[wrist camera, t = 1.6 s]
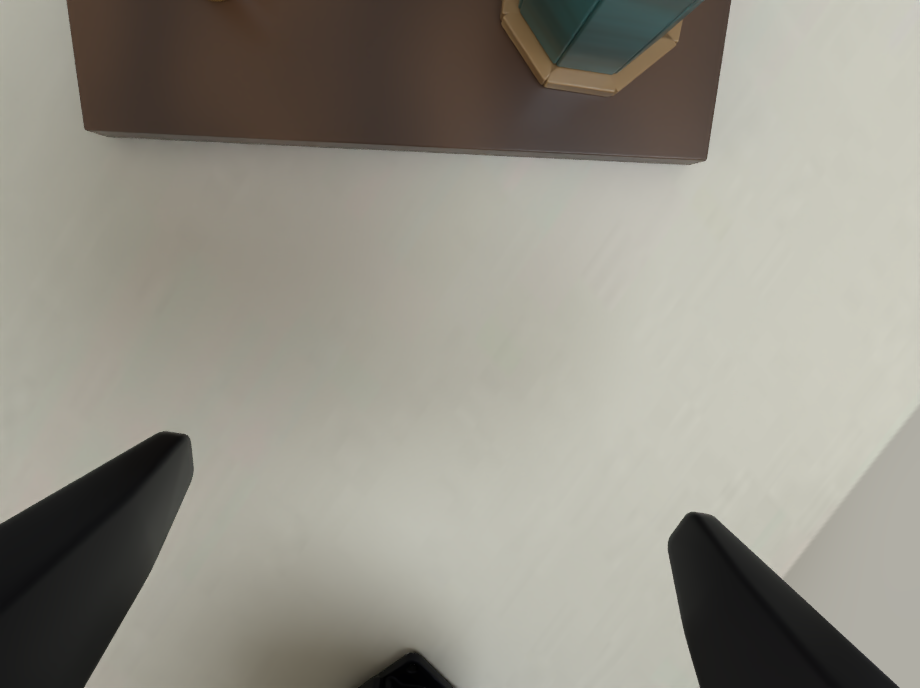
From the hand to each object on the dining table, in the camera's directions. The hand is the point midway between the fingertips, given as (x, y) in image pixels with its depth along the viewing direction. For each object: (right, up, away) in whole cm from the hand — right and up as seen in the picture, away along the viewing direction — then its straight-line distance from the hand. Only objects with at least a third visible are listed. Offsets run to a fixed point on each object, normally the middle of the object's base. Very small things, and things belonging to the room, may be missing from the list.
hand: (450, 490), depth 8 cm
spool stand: (-2, +15, +8) cm, 17 cm away
